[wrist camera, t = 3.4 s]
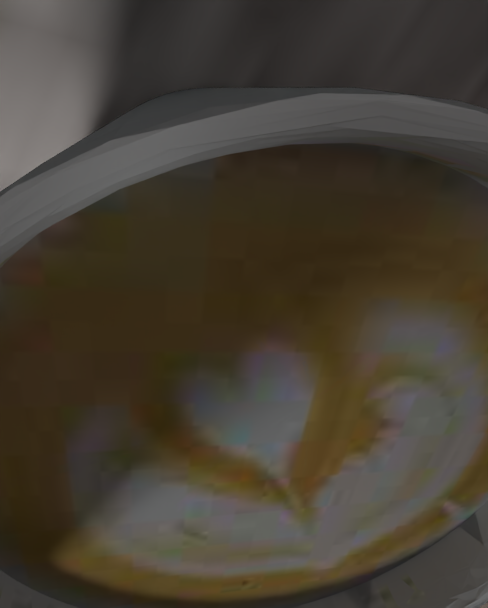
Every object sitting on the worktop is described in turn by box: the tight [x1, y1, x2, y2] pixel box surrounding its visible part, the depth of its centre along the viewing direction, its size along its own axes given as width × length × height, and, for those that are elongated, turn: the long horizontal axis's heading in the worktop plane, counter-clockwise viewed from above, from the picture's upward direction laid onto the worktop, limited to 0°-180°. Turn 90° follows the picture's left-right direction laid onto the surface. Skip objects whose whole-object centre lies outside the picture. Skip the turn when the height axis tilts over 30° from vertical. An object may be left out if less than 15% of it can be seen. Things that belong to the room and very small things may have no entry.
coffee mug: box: [0, 88, 488, 608], centre depth 10 cm, size 13×10×10 cm
